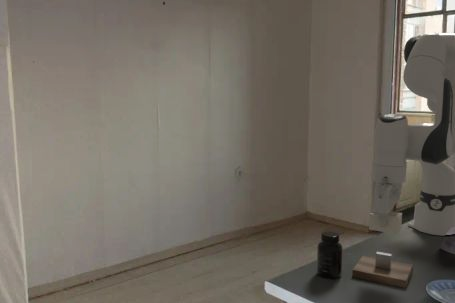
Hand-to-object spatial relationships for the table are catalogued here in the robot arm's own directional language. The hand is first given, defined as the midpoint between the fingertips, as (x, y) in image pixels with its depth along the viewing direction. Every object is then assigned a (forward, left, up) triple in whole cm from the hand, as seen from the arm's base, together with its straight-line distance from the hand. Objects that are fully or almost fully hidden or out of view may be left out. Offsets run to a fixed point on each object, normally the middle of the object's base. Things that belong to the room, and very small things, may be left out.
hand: (385, 223), depth 126 cm
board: (0, 0, -15) cm, 15 cm away
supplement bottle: (+8, -13, -15) cm, 21 cm away
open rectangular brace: (0, 0, -2) cm, 2 cm away
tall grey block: (0, 0, -13) cm, 13 cm away
